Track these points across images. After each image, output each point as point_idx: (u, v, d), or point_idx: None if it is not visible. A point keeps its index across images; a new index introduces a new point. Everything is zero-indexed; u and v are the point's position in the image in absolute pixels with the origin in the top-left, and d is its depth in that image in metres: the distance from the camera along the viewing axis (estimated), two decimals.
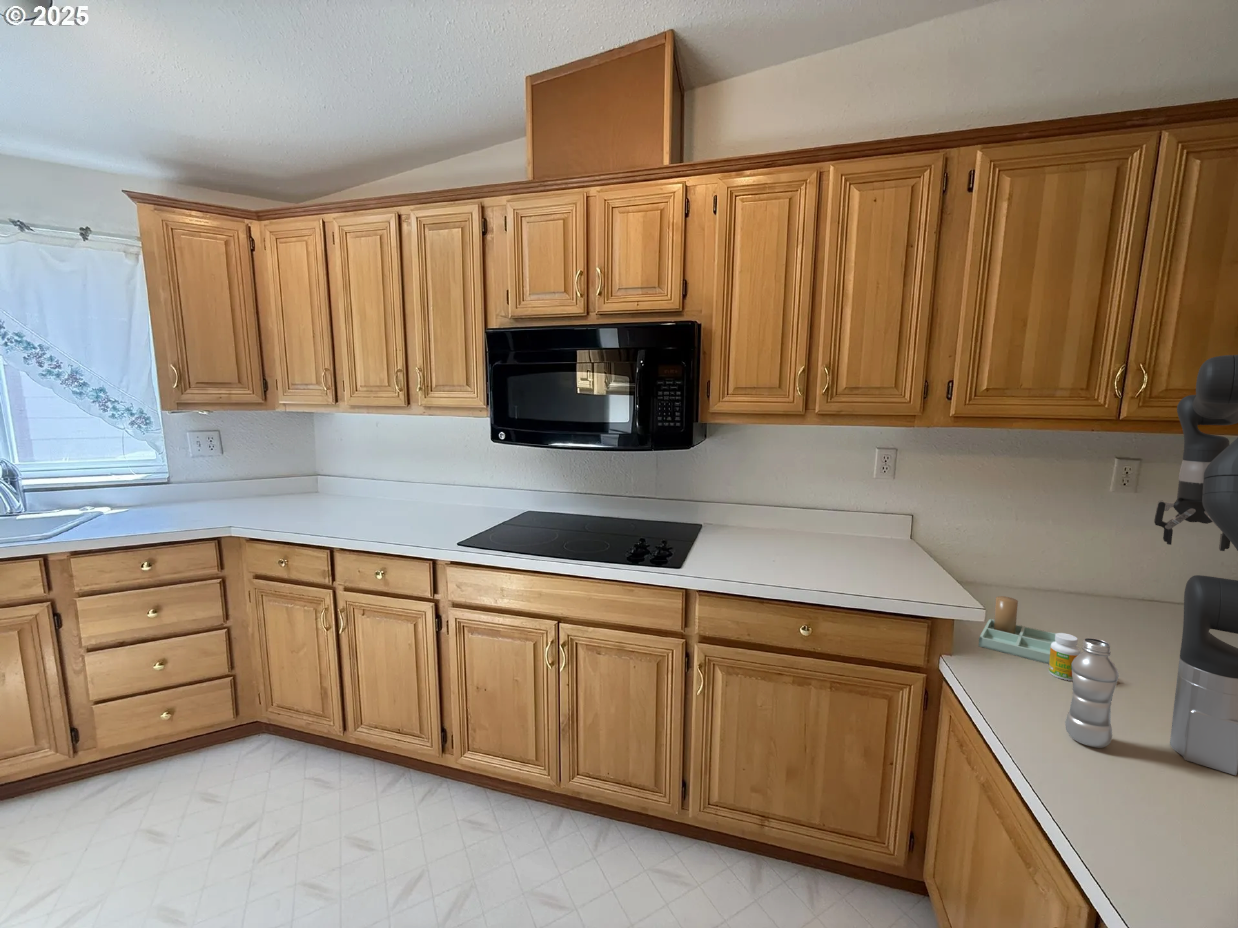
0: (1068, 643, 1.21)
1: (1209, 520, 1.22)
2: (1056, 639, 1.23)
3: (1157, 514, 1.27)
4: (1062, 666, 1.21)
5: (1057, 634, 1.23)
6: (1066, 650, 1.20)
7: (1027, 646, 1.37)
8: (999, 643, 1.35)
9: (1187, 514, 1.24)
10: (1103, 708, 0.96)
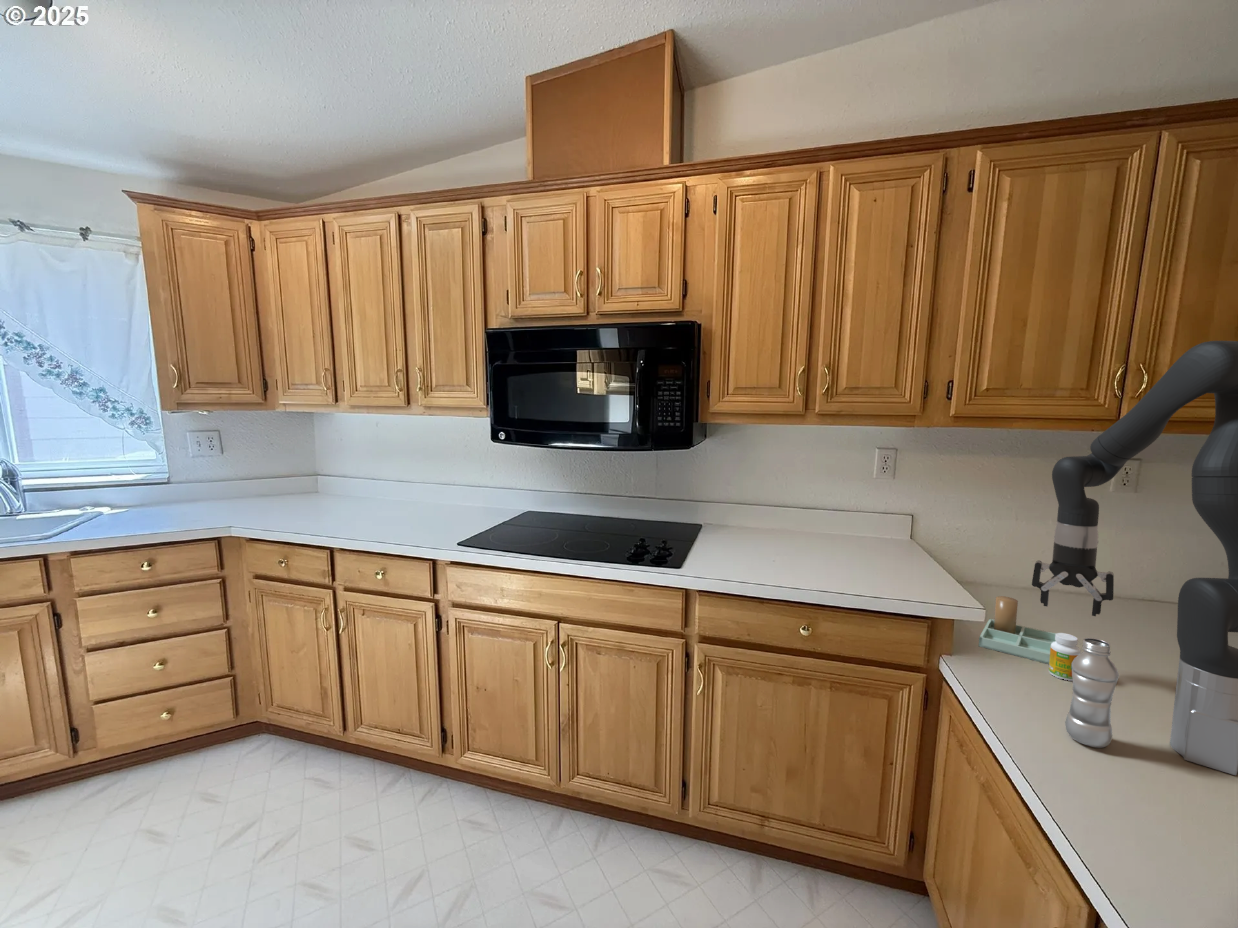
0: (1068, 643, 1.21)
1: (1081, 584, 1.19)
2: (1056, 639, 1.23)
3: (1034, 575, 1.24)
4: (1062, 666, 1.21)
5: (1057, 634, 1.23)
6: (1066, 650, 1.20)
7: (1027, 646, 1.37)
8: (999, 643, 1.35)
9: (1060, 577, 1.21)
10: (1103, 708, 0.96)
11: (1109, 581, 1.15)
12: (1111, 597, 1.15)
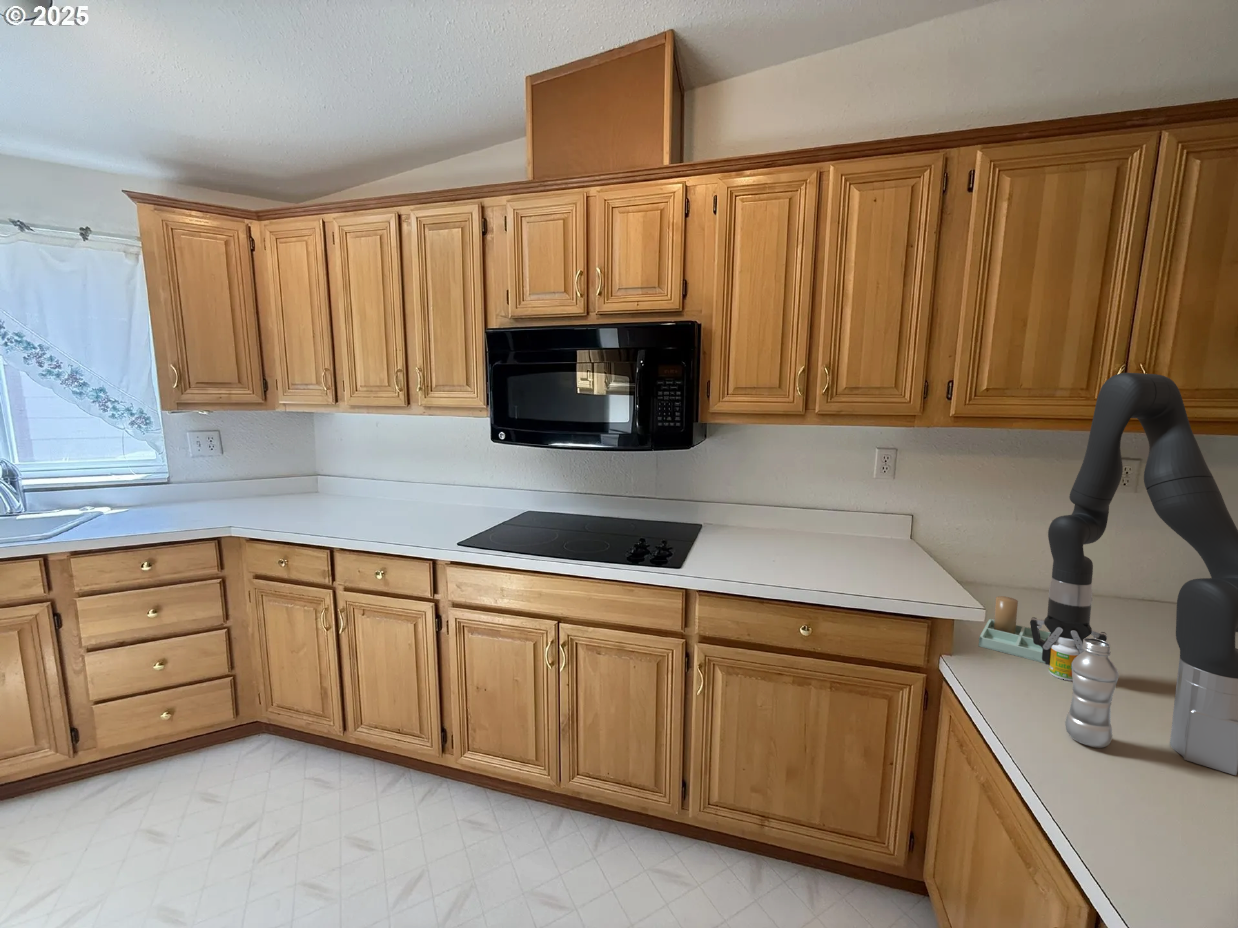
0: (1068, 643, 1.21)
1: None
2: (1056, 639, 1.23)
3: (1032, 633, 1.26)
4: (1062, 666, 1.21)
5: None
6: (1066, 650, 1.20)
7: (1027, 646, 1.37)
8: (999, 643, 1.35)
9: (1057, 633, 1.22)
10: (1103, 708, 0.96)
11: None
12: None
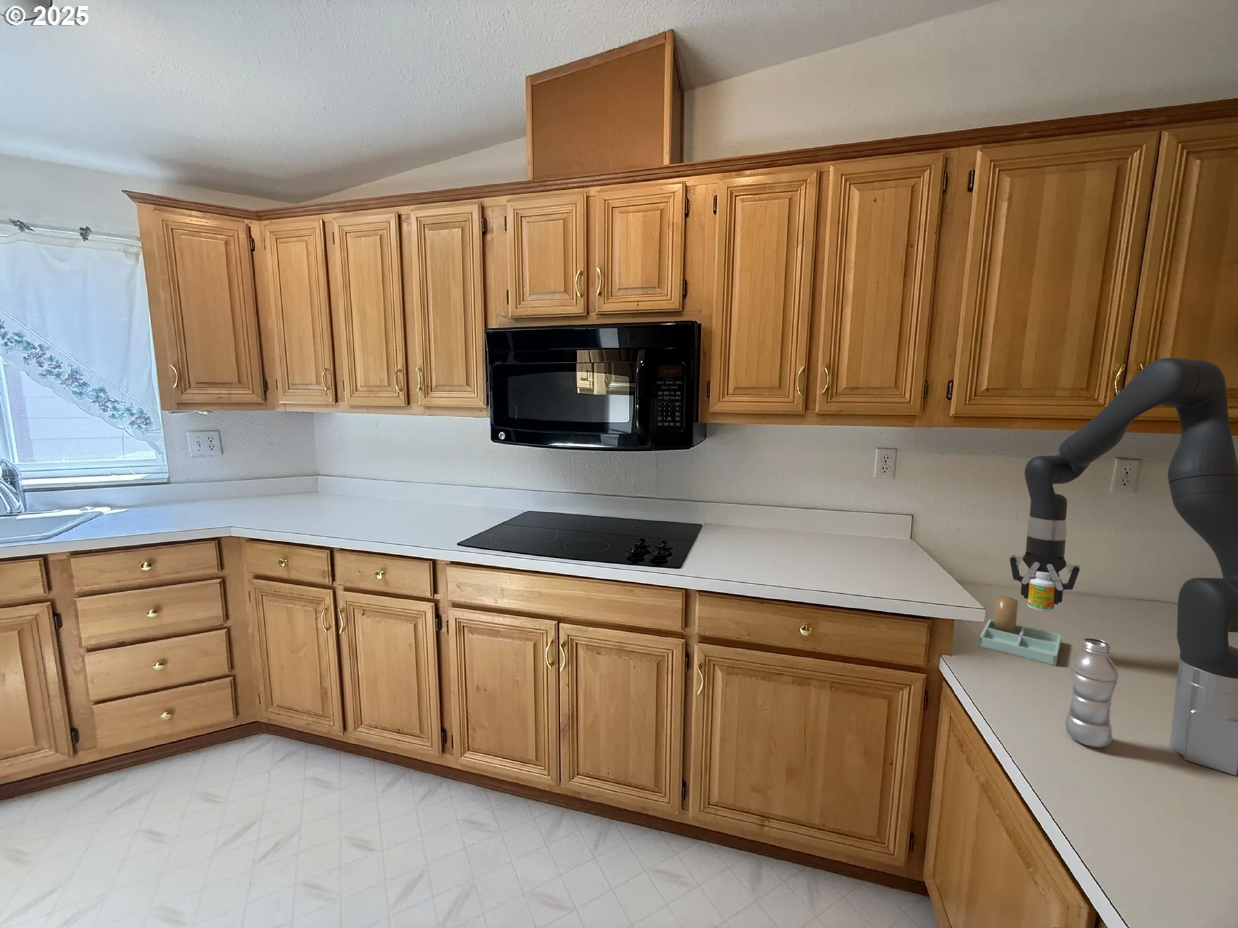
0: (1045, 576, 1.29)
1: None
2: (1034, 573, 1.31)
3: (1012, 569, 1.34)
4: (1039, 598, 1.30)
5: None
6: (1042, 583, 1.29)
7: (1027, 646, 1.37)
8: (999, 643, 1.35)
9: (1034, 568, 1.31)
10: (1103, 708, 0.96)
11: (1074, 573, 1.26)
12: (1071, 587, 1.26)
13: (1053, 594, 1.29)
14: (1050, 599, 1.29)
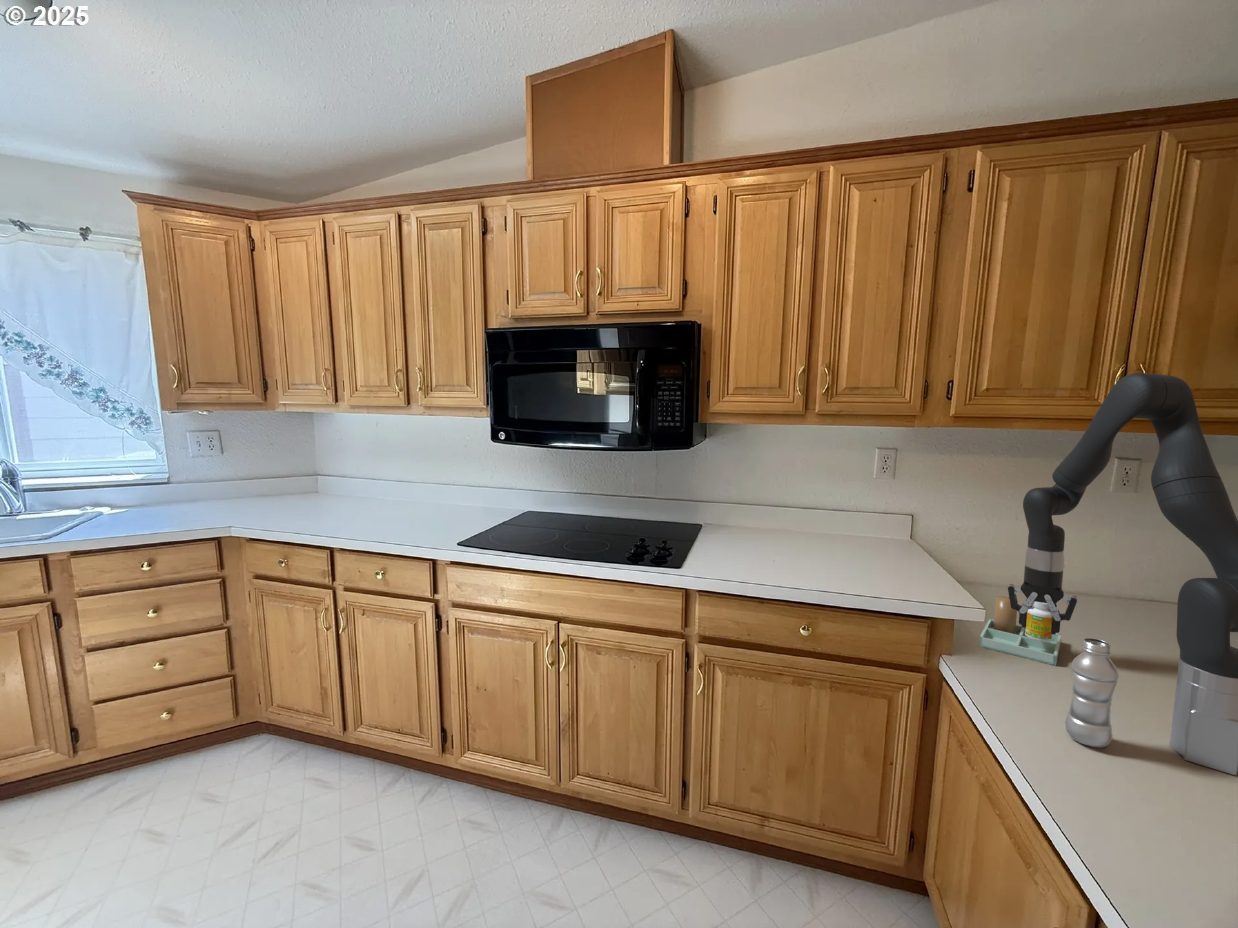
0: (1042, 606, 1.30)
1: None
2: None
3: (1010, 598, 1.35)
4: (1036, 628, 1.31)
5: None
6: (1040, 613, 1.30)
7: (1027, 646, 1.37)
8: (999, 643, 1.35)
9: (1032, 598, 1.32)
10: (1103, 708, 0.96)
11: (1071, 604, 1.27)
12: (1068, 618, 1.27)
13: (1051, 624, 1.30)
14: (1047, 629, 1.30)
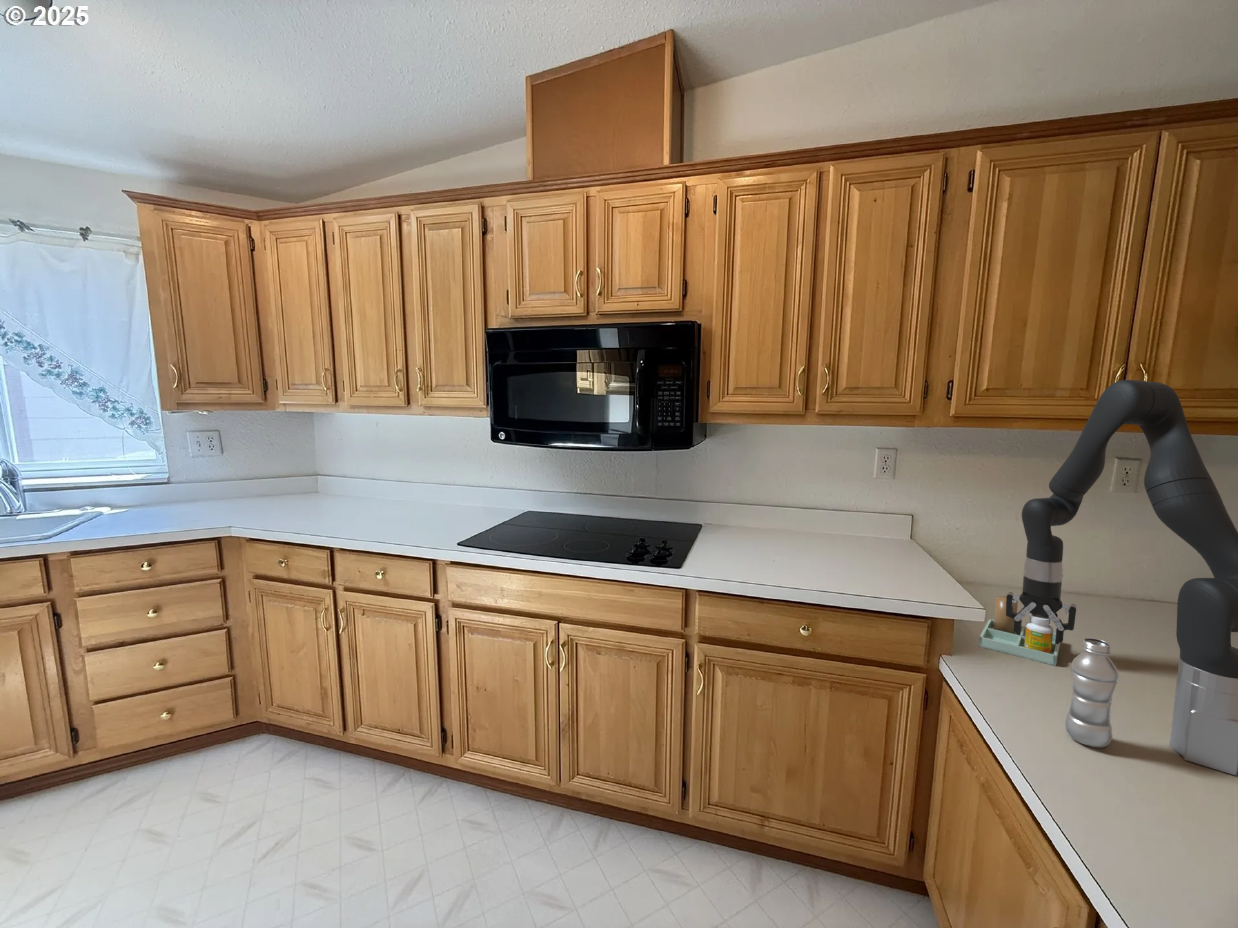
0: (1042, 622, 1.30)
1: (1047, 614, 1.30)
2: (1031, 619, 1.33)
3: (1007, 606, 1.36)
4: (1036, 644, 1.31)
5: (1032, 614, 1.33)
6: (1039, 629, 1.30)
7: None
8: (999, 643, 1.35)
9: (1030, 607, 1.32)
10: (1103, 708, 0.96)
11: (1072, 613, 1.27)
12: (1072, 627, 1.27)
13: (1050, 640, 1.30)
14: (1047, 645, 1.30)
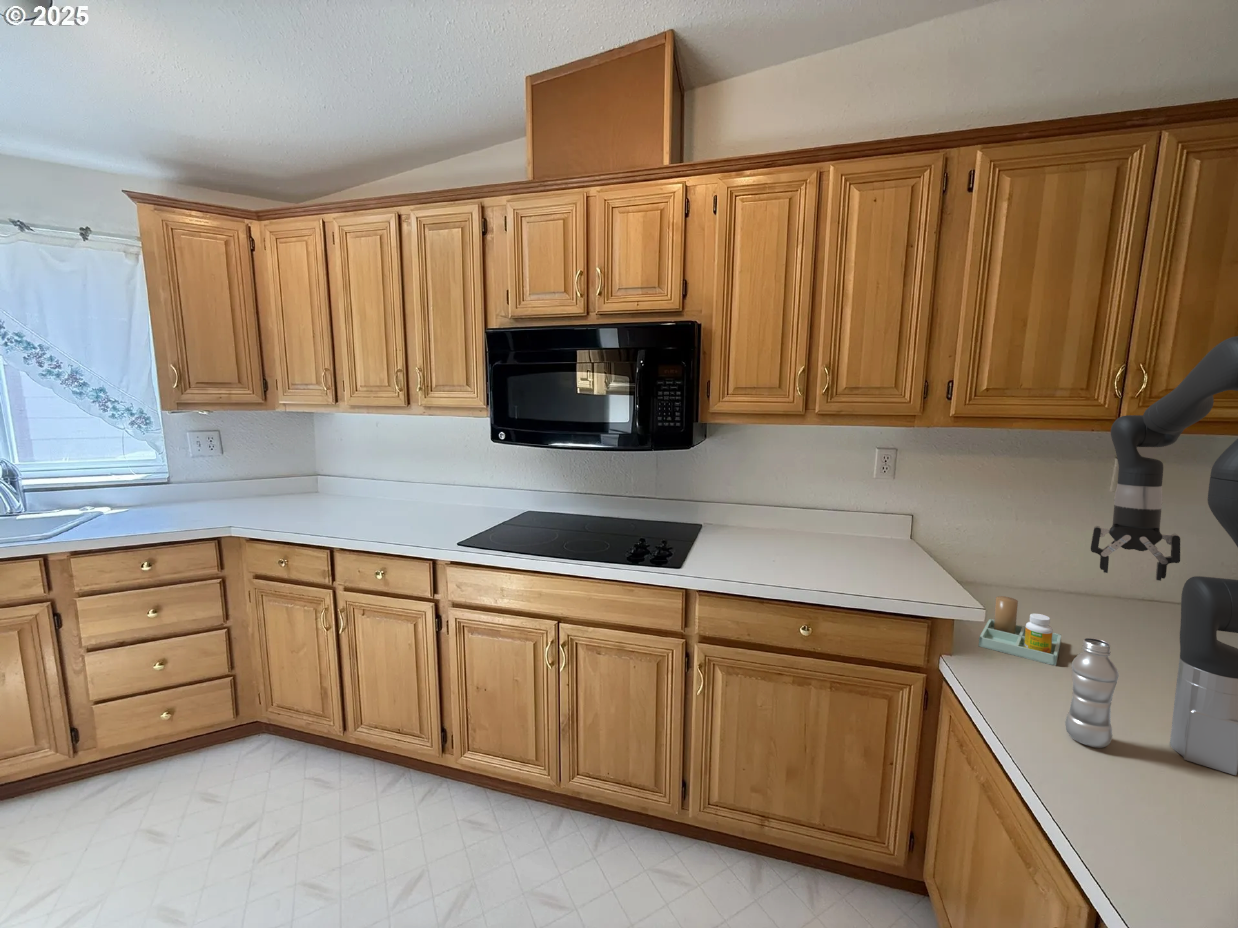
0: (1041, 622, 1.30)
1: (1145, 547, 1.15)
2: (1030, 619, 1.33)
3: (1093, 540, 1.21)
4: (1036, 644, 1.31)
5: (1031, 615, 1.33)
6: (1039, 629, 1.30)
7: None
8: (999, 643, 1.35)
9: (1123, 541, 1.17)
10: (1103, 708, 0.96)
11: (1175, 543, 1.12)
12: (1178, 559, 1.12)
13: (1050, 640, 1.30)
14: (1046, 645, 1.30)
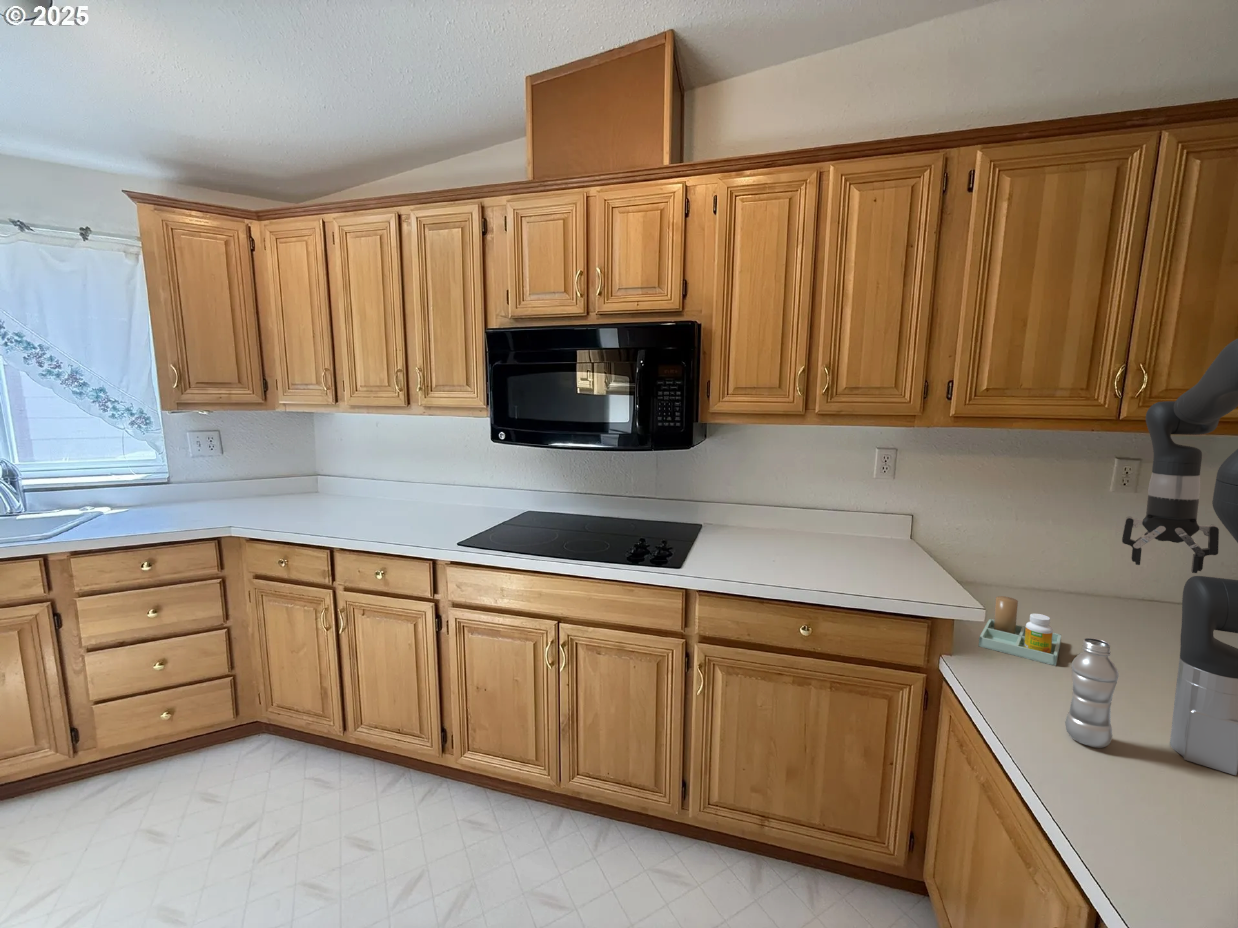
0: (1041, 622, 1.30)
1: (1180, 539, 1.11)
2: (1031, 619, 1.33)
3: (1125, 531, 1.16)
4: (1036, 644, 1.31)
5: (1031, 614, 1.33)
6: (1039, 629, 1.30)
7: None
8: (999, 643, 1.35)
9: (1157, 532, 1.12)
10: (1103, 708, 0.96)
11: (1213, 534, 1.07)
12: (1216, 552, 1.07)
13: (1050, 640, 1.30)
14: (1047, 645, 1.30)
